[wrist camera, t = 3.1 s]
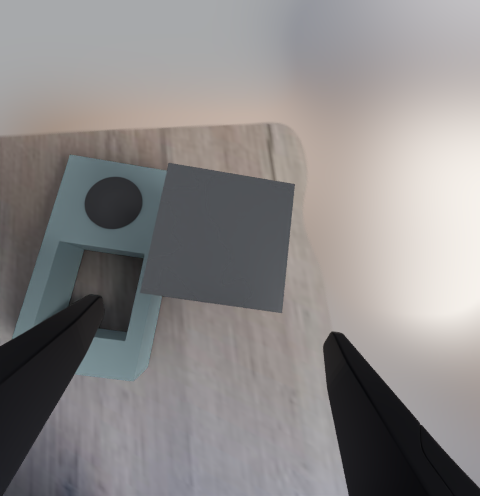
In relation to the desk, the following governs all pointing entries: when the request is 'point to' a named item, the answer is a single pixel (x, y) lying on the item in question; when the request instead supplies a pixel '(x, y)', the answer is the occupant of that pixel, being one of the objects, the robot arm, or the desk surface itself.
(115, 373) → the socket block
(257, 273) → the square bit
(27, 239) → the desk surface
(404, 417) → the robot arm
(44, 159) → the desk surface
